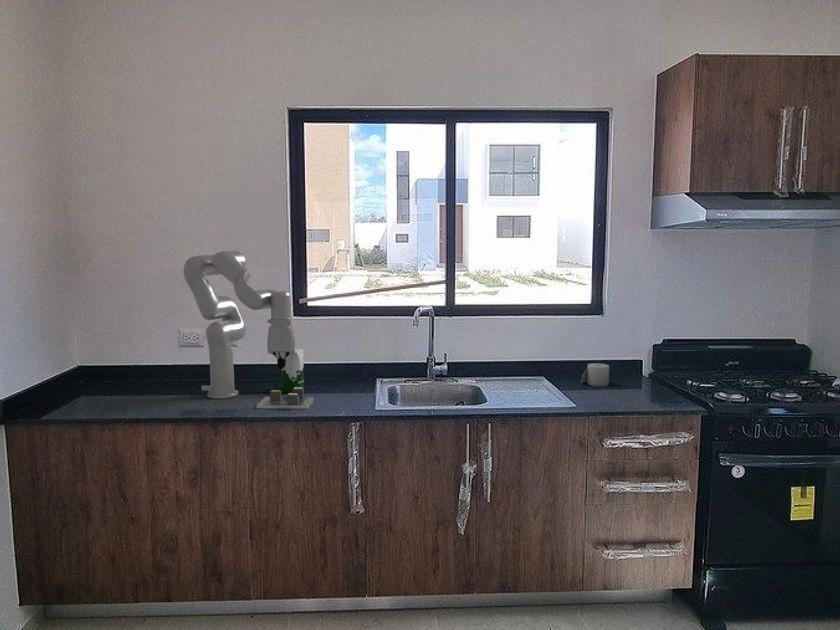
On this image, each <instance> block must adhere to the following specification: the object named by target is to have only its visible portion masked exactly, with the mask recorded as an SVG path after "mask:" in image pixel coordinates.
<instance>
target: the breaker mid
mask: <svg viewBox="0 0 840 630" xmlns="http://www.w3.org/2000/svg"><path fill="white" fill-rule="evenodd" d="M269 397H270V401H281V397H282V390H279V389H276V390H275V389H272V390H270V392H269Z"/></svg>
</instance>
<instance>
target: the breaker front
mask: <svg viewBox="0 0 840 630" xmlns="http://www.w3.org/2000/svg"><path fill="white" fill-rule="evenodd" d="M286 397H287V405H298V403H299V396H298V394H297V393H287V395H286Z"/></svg>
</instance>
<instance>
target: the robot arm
mask: <svg viewBox="0 0 840 630" xmlns="http://www.w3.org/2000/svg"><path fill="white" fill-rule="evenodd" d="M246 264H247V261H246V257H245V256H244V255H243V253H242V252H240V251H236V250H224V251H218V252H216V253H215V254H207V255H206V254H203V255H193V256H191V257H189V258H188V259H186V261H185V262H184V266H183V277H184V280H185V282H186V284H187V286H188V287H189V289H190V291H191V292H192V295H193V297H194V300H195V302H196V305H197V307H198V310H199V312H200V314H201V316H202V318H204V320H207V321H214V320H217V321H214V322H211V323H210V324H208V326H207V327H206V330H205V337H206V342H207V345H208V353H209V355H208V356H209V357H208V358H209V372H210V373H209V374H210V375H209V376H210V384H209V385H201V389H200V390H201V391H203V392H207V394H206V396H207V398H209V399H213V400H215V399H216V400H219V399H229V398H234V397H237V396H238V395H239V390H237V389H235V372H234V371H235V370H234V369H235V368H234V366H235V365H234V352H233V349H232V347H231V345H230V344H229V343H231V342H232V343H233V342H238V341H240V340H242V339H244V337H245V335H246V326H245V322H244V319H243V318H242V314H241V313H240V310H239V308H238V305H237V304H236V302H235V300H233V298H232V297H230V296H227V295H221V296H219V295H217V293H216V291H215V288H214V286H213V284H212V283H211V282H210V281H209V280H207V278H206V277H205V276H216V275H221V276H223V277H224V278H225V279H226V280H227V281H229V283H230V284H232V285H233V290H234V293H235V296H236V298H237V299H238V300H239V301H240V302H241V303H242V304H243V305H244V306H246V307H247V308H248V309H250V310H254V311H260V310H265V309H266V310H267V309H270V318H269V319H267V323H268V324H270V325H269V326H268V332H267V345H266V346H267V348H266V349H267V353H268V354H269V355H273V356H274V357H275V359H276V360H277V361H276V362H277V364H276V365H277V367H278V369H279V370H282V369H283V368H284V367H285V366H286V357H287V356H288V355H291V354H294V353H295V349H296V348H295V347H296V346H295V345H296V342H295V333H294V327H293V325H292V324H291V323H292V321H291V318H292V316H291V312H292V310H291V293H290V292H289V291H286V290H285V291H284V290H276V289H260V290H255V289H253V288H252V287H251V286H250V285H249V284H247V283H248V282H249V280H250V279H251V272H250V270H249V269H248V268H246ZM220 319H221V320H220ZM280 352H283V355H282V358H281V354H280Z"/></svg>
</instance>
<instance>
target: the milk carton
mask: <svg viewBox="0 0 840 630" xmlns="http://www.w3.org/2000/svg"><path fill="white" fill-rule="evenodd" d="M294 349H295V353H294V354H291V355H288V356H287V357H286V366H285V367H284V368H283V369H281V394H283V393H285V394H289V393H293V388H295V387H303V388H305V385H304V384H305V376H304V375H305V374H304V373H305V372H304V349H302V348H294ZM280 354H281V358H282V355H283V352H280Z"/></svg>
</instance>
